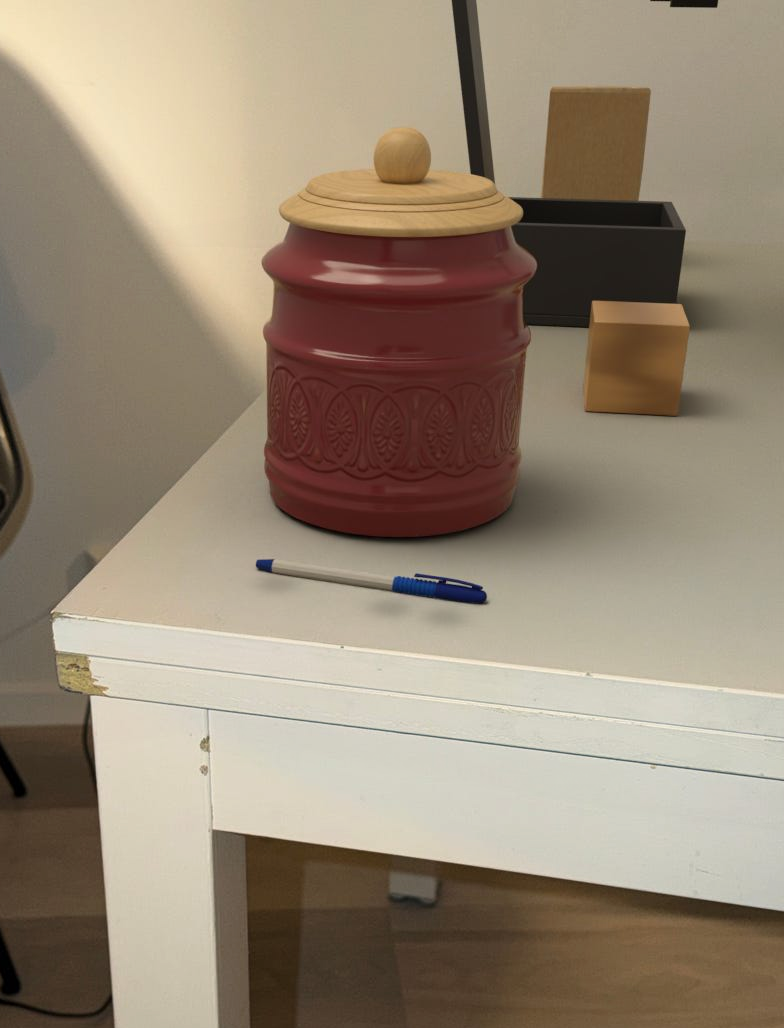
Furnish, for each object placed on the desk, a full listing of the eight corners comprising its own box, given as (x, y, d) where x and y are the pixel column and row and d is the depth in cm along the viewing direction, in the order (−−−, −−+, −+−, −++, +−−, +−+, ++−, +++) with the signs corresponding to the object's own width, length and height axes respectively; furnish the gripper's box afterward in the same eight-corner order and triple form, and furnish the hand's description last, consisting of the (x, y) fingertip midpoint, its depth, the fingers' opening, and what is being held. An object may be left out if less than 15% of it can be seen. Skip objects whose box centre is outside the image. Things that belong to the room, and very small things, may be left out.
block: (670, 390, 84) (682, 303, 81) (677, 416, 79) (690, 325, 76) (583, 386, 84) (591, 300, 82) (584, 411, 80) (594, 321, 77)
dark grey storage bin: (660, 293, 108) (672, 201, 105) (672, 331, 97) (686, 229, 94) (483, 286, 110) (488, 196, 107) (475, 322, 99) (481, 223, 96)
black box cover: (474, -21, 100) (461, -18, 100) (464, -19, 89) (449, -16, 89) (495, 188, 106) (483, 190, 107) (488, 214, 95) (475, 216, 96)
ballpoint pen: (488, 599, 56) (489, 579, 56) (484, 608, 56) (485, 587, 55) (259, 568, 59) (258, 548, 59) (252, 576, 59) (252, 556, 58)
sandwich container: (625, 236, 130) (643, 73, 123) (632, 268, 117) (653, 86, 110) (538, 233, 132) (551, 71, 125) (535, 264, 118) (550, 85, 111)
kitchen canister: (247, 459, 72) (240, 114, 64) (474, 445, 74) (496, 110, 66) (287, 552, 60) (286, 148, 52) (554, 533, 62) (593, 141, 54)
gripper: (647, -359, 86) (610, -2, 96) (691, -468, 64) (637, 9, 74) (764, -362, 85) (714, -1, 95) (849, -473, 64) (773, 11, 73)
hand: (680, 5), depth 85 cm, fingers open, 13 cm apart
